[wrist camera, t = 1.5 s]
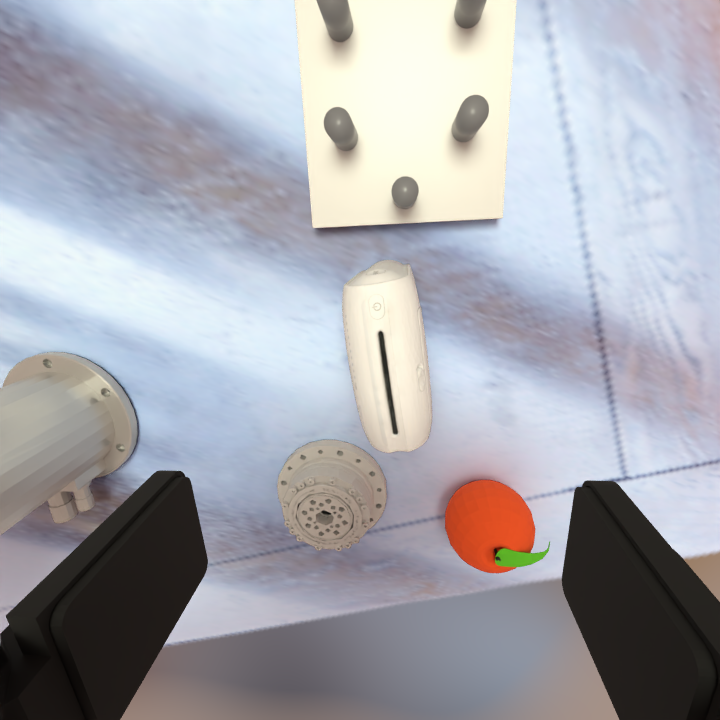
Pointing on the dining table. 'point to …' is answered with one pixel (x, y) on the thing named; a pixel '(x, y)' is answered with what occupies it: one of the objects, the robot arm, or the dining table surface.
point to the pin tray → (405, 108)
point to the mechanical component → (331, 494)
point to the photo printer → (388, 356)
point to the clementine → (491, 527)
